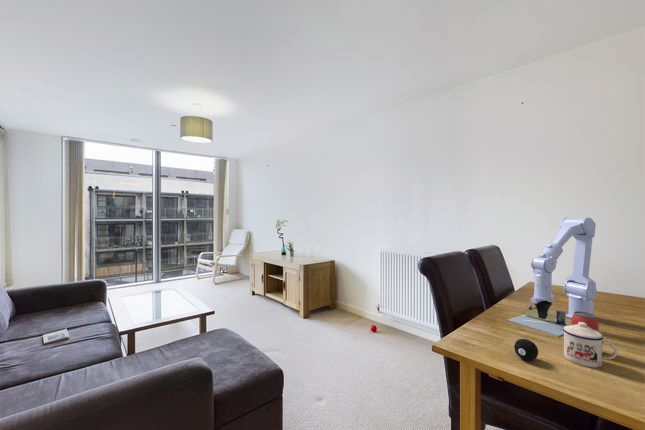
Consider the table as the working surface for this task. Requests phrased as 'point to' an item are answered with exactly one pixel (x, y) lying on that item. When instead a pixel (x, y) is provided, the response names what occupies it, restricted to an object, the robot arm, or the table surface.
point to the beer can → (586, 320)
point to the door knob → (560, 318)
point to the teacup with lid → (585, 345)
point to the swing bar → (534, 313)
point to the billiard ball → (526, 349)
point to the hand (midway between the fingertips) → (542, 318)
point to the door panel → (540, 324)
